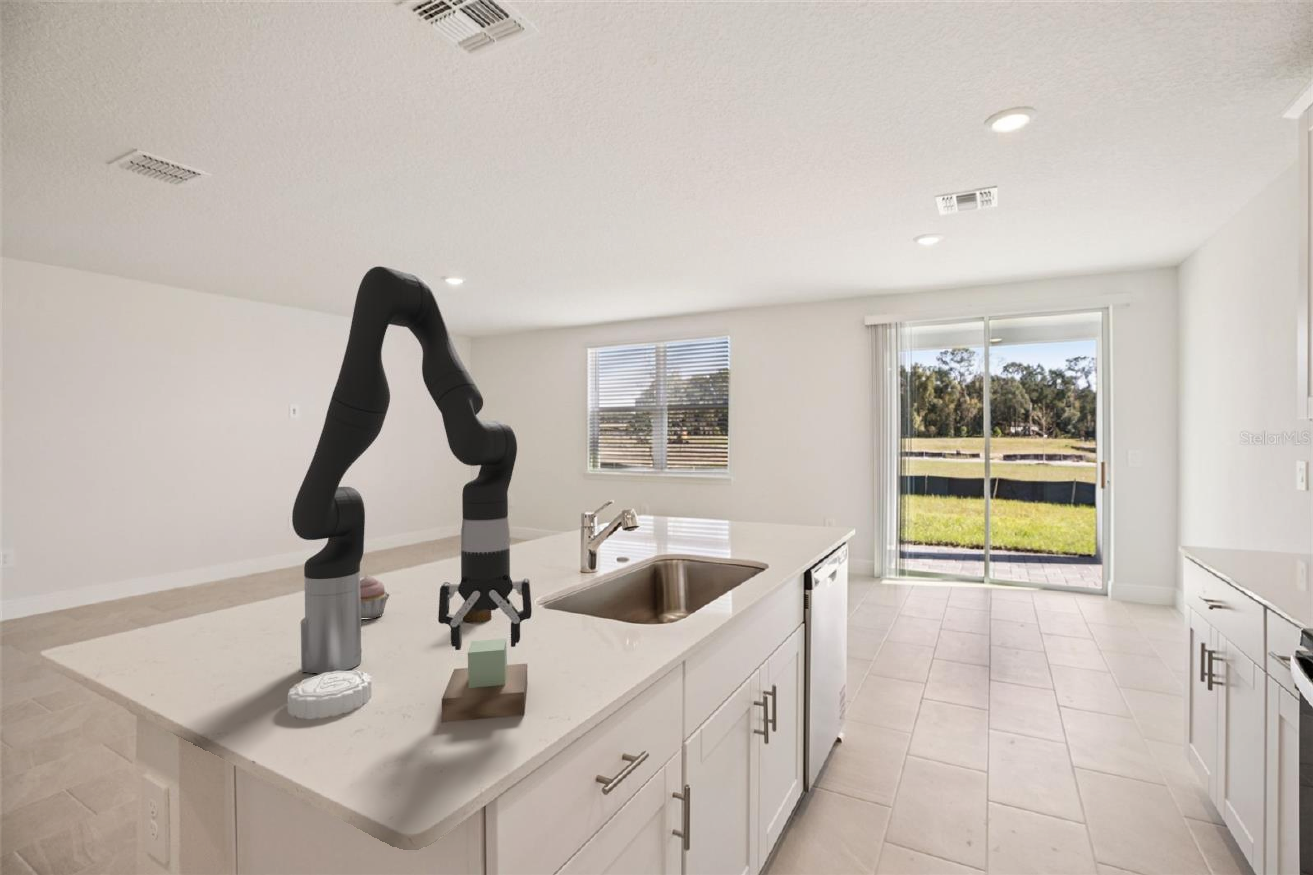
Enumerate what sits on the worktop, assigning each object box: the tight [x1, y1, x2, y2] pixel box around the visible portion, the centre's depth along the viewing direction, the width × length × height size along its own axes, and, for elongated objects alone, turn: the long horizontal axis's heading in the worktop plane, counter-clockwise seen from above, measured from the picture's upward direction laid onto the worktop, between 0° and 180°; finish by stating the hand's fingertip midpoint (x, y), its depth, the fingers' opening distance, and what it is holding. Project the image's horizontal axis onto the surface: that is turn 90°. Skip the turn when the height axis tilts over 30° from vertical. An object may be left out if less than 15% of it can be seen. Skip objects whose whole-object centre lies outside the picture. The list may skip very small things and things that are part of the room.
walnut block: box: [441, 663, 528, 723], centre depth 99 cm, size 12×12×4 cm
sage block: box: [467, 638, 508, 688], centre depth 99 cm, size 6×6×6 cm
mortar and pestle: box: [461, 608, 493, 624], centre depth 144 cm, size 7×6×18 cm
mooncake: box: [287, 670, 373, 720], centre depth 100 cm, size 12×12×4 cm
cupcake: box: [360, 574, 391, 619], centre depth 148 cm, size 9×9×10 cm
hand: (486, 647), depth 99 cm, fingers open, 8 cm apart
